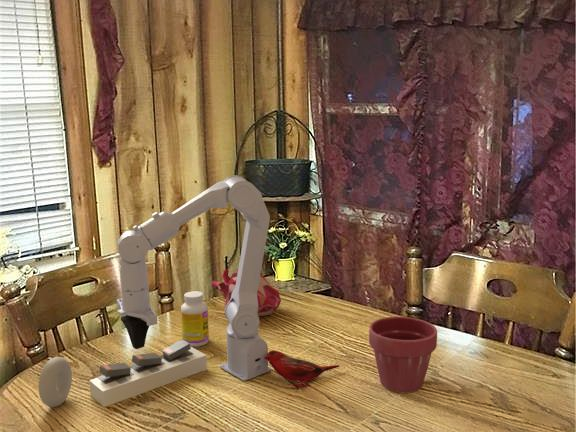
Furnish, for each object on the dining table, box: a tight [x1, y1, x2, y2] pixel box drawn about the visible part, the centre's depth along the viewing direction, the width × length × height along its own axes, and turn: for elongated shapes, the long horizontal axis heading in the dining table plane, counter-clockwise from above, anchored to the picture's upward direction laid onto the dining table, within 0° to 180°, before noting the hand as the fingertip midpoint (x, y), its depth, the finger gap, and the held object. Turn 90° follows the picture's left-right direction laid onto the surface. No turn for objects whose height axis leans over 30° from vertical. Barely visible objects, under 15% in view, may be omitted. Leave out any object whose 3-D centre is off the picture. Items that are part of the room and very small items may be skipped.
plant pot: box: [368, 316, 438, 394], centre depth 133 cm, size 14×14×13 cm
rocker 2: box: [131, 352, 162, 366], centre depth 137 cm, size 3×6×2 cm, turn 131°
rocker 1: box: [98, 362, 131, 377], centre depth 132 cm, size 3×6×2 cm, turn 131°
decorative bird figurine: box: [263, 350, 340, 388], centre depth 137 cm, size 3×18×10 cm
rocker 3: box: [161, 339, 191, 360], centre depth 141 cm, size 3×6×2 cm, turn 131°
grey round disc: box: [38, 356, 73, 408], centre depth 127 cm, size 10×4×10 cm, turn 173°
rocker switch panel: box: [88, 347, 208, 408], centre depth 136 cm, size 6×25×4 cm, turn 131°
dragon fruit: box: [211, 268, 282, 318], centre depth 175 cm, size 14×12×20 cm
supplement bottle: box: [180, 290, 210, 348], centre depth 156 cm, size 7×7×13 cm
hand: (138, 347), depth 135 cm, fingers closed
